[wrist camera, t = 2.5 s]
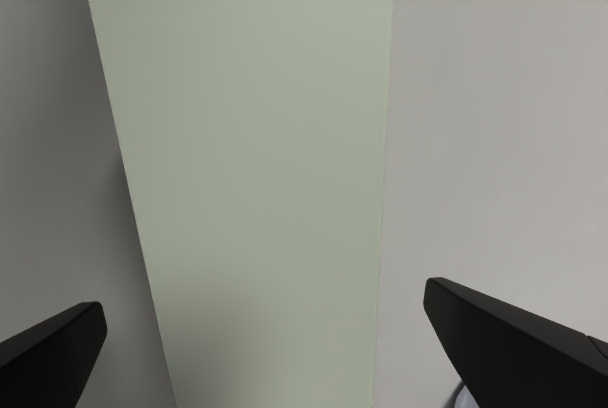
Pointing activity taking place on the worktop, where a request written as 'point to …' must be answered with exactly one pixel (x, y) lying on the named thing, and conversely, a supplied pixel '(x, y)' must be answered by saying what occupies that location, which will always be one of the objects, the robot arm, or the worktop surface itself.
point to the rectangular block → (256, 189)
